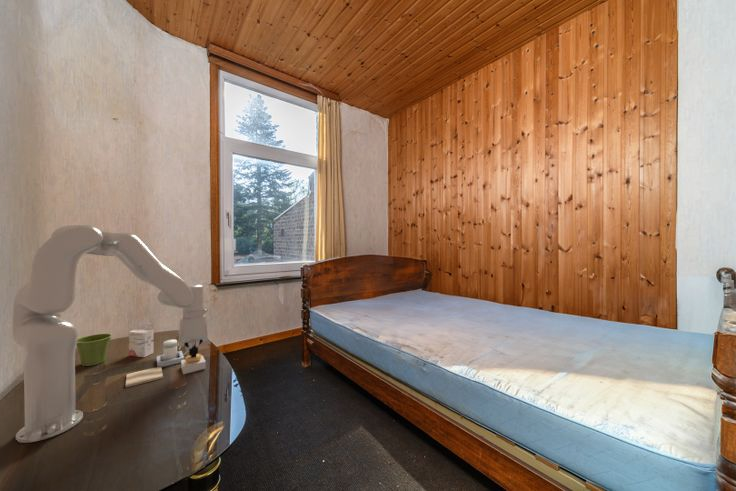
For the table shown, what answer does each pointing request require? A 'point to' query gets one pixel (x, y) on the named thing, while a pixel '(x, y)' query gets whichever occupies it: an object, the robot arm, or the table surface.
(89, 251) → the robot arm
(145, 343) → the ink cartridge box
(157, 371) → the wooden pad
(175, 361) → the filter socket
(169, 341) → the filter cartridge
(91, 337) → the plant pot
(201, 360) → the white square base
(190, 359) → the orange mushroom button
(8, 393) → the table surface
